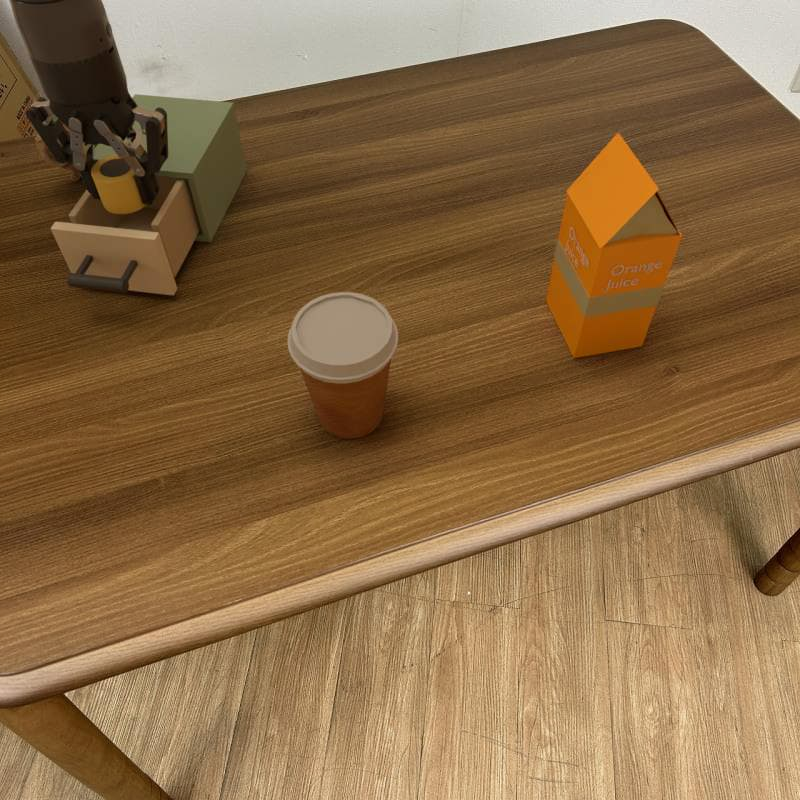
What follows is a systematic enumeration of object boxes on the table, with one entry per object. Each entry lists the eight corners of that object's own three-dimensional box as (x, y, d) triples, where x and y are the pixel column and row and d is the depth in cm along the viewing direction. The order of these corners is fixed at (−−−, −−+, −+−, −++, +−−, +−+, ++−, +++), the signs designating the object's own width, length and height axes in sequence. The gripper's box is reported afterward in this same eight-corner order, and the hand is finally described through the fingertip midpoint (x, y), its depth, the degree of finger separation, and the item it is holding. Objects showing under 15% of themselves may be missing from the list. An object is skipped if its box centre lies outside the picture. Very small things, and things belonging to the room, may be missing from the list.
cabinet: (211, 242, 88) (192, 173, 81) (111, 232, 90) (83, 163, 82) (247, 171, 97) (233, 102, 90) (155, 162, 99) (134, 94, 91)
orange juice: (610, 289, 83) (658, 126, 67) (643, 346, 77) (703, 183, 62) (543, 300, 82) (575, 137, 66) (572, 359, 76) (614, 196, 61)
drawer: (159, 323, 79) (138, 267, 73) (59, 311, 80) (30, 255, 74) (213, 218, 90) (199, 162, 83) (124, 209, 91) (103, 153, 85)
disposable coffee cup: (419, 421, 71) (420, 336, 62) (335, 470, 68) (323, 387, 59) (364, 361, 76) (357, 273, 67) (283, 404, 73) (264, 317, 64)
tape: (95, 212, 79) (82, 179, 76) (114, 183, 82) (102, 151, 79) (140, 216, 78) (128, 184, 75) (157, 188, 81) (147, 155, 78)
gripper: (-27, 53, 65) (48, 212, 78) (128, 65, 63) (177, 226, 77) (15, 14, 70) (79, 171, 83) (160, 24, 68) (201, 183, 81)
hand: (126, 196), depth 80 cm, fingers closed on tape, 5 cm apart
